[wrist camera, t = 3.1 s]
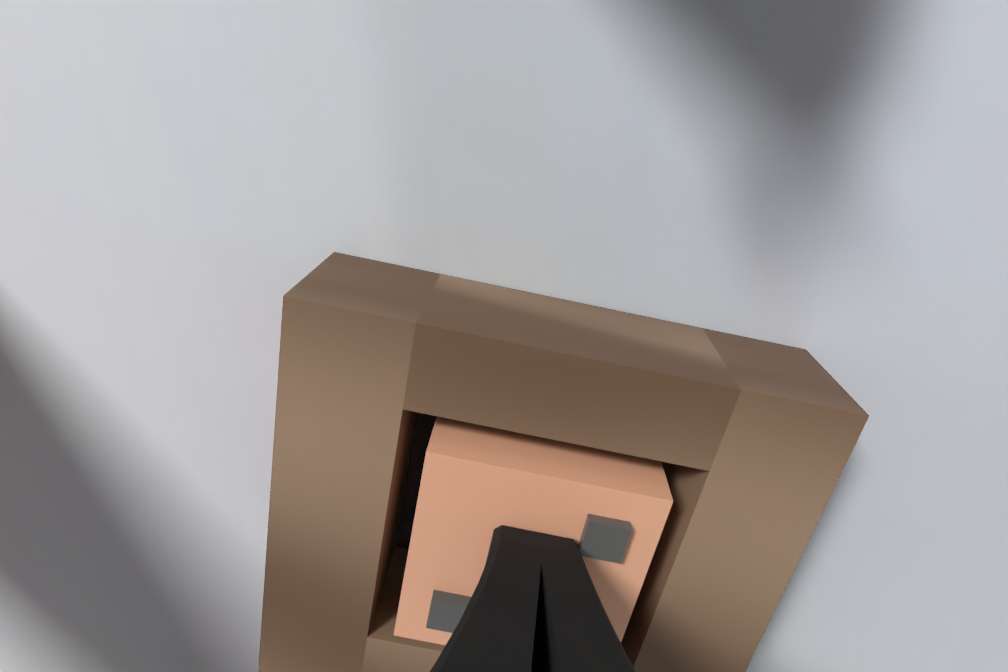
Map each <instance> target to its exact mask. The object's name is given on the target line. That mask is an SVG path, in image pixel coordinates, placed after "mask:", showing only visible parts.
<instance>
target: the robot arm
mask: <svg viewBox="0 0 1008 672" xmlns="http://www.w3.org/2000/svg"><path fill="white" fill-rule="evenodd" d="M430 672H636V671H635V669H634V668H633V666H632V664H631V662H630V660H629V658H628V656H627V654H626V652H625V650H624V648H623V646H622V644H621V642H620V640H619V638H618V636H617V634H616V632H615V630H614V628H613V626H612V624H611V622H610V620H609V618H608V616H607V614H606V611H605V609H604V607H603V605H602V603H601V600H600V598H599V596H598V594H597V591H596V589H595V587H594V584H593V582H592V580H591V577H590V575H589V573H588V570H587V568H586V565H585V563H584V560H583V557H582V555H581V552H580V550H579V547H578V545H577V544H576V542H575V541H574V539H571V538H566V537H560V536H555V535H550V534H545V533H540V532H535V531H530V530H525V529H520V528H515V527H510V526H505V525H501V526H499V527H497V528H495V529H494V531H493V535H492V539H491V543H490V547H489V552H488V556H487V560H486V564H485V567H484V570H483V572H482V575H481V577H480V580H479V582H478V585H477V587H476V589H475V591H474V593H473V595H472V597H471V599H470V601H469V603H468V605H467V607H466V609H465V611H464V614H463V616H462V617H461V619H460V621H459V623H458V625H457V627H456V628H455V630H454V632H453V633H452V635H451V637H450V639H449V640H448V642H447V644H446V646H445V647H444V649H443V651H442V652H441V654H440V656H439V658H438V659H437V661H436V663H435V664H434V666H433V667H432V669H431V670H430Z"/></svg>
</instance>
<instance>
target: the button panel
mask: <svg viewBox="0 0 1008 672" xmlns="http://www.w3.org/2000/svg"><path fill="white" fill-rule="evenodd" d="M417 413H423V414H428V415H433V416H438V417H443V418H448V419H453V420H458V421H463V422H468V423H473V424H478V425H483V426H488V427H493V428H498V429H503V430H508V431H513V432H517V433H522V434H527V435H532V436H537V437H542V438H547V439H552V440H557V441H562V442H567V443H572V444H577V445H582V446H587V447H592V448H597V449H602V450H607V451H612V452H617V453H622V454H627V455H632V456H637V457H642V458H647V459H652V460H657V461H661V463H662V466H663V469H664V472H665V475H666V479H667V482H668V485H669V488H670V492H671V495H672V498H673V504H672V506H671V509H670V512H669V514H668V517H667V520H666V523H665V525H664V528H663V531H662V533H661V536H660V539H659V541H658V544H657V547H656V550H655V552H654V555H653V558H652V560H651V563H650V566H649V568H648V571H647V574H646V577H645V579H644V582H643V585H642V587H641V590H640V593H639V595H638V598H637V601H636V604H635V606H634V609H633V612H632V614H631V617H630V620H629V623H628V625H627V628H626V631H625V633H624V636H623V639H622V641H621V644H622V646H623V648H624V650H625V652H626V654H627V656H628V658H629V660H630V662H631V664H632V666H633V668H634V669H635V671H636V672H745V670H746V668H747V666H748V664H749V662H750V660H751V658H752V656H753V654H754V652H755V650H756V648H757V646H758V643H759V641H760V639H761V637H762V635H763V633H764V631H765V629H766V627H767V625H768V623H769V621H770V619H771V617H772V615H773V613H774V611H775V609H776V606H777V604H778V602H779V600H780V598H781V596H782V594H783V592H784V590H785V588H786V586H787V584H788V582H789V580H790V578H791V576H792V574H793V571H794V569H795V567H796V565H797V563H798V561H799V559H800V557H801V555H802V553H803V551H804V549H805V547H806V545H807V543H808V541H809V539H810V537H811V534H812V532H813V530H814V528H815V526H816V524H817V522H818V520H819V518H820V516H821V514H822V512H823V510H824V508H825V506H826V504H827V502H828V499H829V497H830V495H831V493H832V491H833V489H834V487H835V485H836V483H837V481H838V479H839V477H840V475H841V473H842V471H843V469H844V467H845V465H846V462H847V460H848V458H849V456H850V454H851V452H852V450H853V448H854V446H855V444H856V442H857V440H858V438H859V436H860V434H861V432H862V430H863V427H864V425H865V423H866V421H867V419H868V417H869V415H868V414H867V413H866V412H865V411H864V410H863V409H862V408H861V407H860V406H859V405H858V404H857V403H856V402H855V400H854V399H853V398H852V397H851V396H850V395H849V394H848V393H847V392H846V391H845V390H844V389H843V388H842V387H841V386H840V385H839V384H838V383H837V382H836V381H835V380H834V379H833V377H832V376H831V375H830V374H829V373H828V372H827V371H826V370H825V369H824V368H823V367H822V366H821V365H820V364H819V363H818V362H817V361H816V360H815V359H814V358H813V357H812V356H811V354H810V353H809V352H808V351H807V350H805V349H800V348H795V347H790V346H785V345H780V344H776V343H771V342H766V341H761V340H756V339H751V338H747V337H742V336H737V335H732V334H727V333H722V332H718V331H713V330H708V329H703V328H698V327H693V326H689V325H684V324H679V323H674V322H669V321H664V320H660V319H655V318H650V317H645V316H640V315H635V314H631V313H626V312H621V311H616V310H611V309H606V308H602V307H597V306H592V305H587V304H582V303H578V302H573V301H568V300H563V299H558V298H553V297H549V296H544V295H539V294H534V293H529V292H524V291H520V290H515V289H510V288H505V287H500V286H495V285H491V284H486V283H481V282H476V281H471V280H466V279H462V278H457V277H452V276H447V275H442V274H437V273H433V272H428V271H423V270H418V269H413V268H408V267H404V266H399V265H394V264H389V263H384V262H379V261H375V260H370V259H365V258H360V257H355V256H350V255H346V254H341V253H336V252H334V253H333V254H331V255H330V256H329V257H328V258H327V259H326V260H325V261H323V262H322V263H321V264H320V265H319V266H318V267H316V268H315V269H314V270H313V271H312V272H311V273H309V274H308V275H307V276H306V277H305V278H304V279H302V280H301V281H300V282H299V283H298V284H297V285H295V286H294V287H293V288H292V289H291V290H290V291H289V292H287V293H286V294H285V295H284V296H283V310H282V325H281V340H280V355H279V370H278V386H277V401H276V416H275V431H274V446H273V461H272V476H271V491H270V506H269V521H268V536H267V551H266V566H265V581H264V596H263V611H262V626H261V641H260V656H259V671H258V672H430V670H431V669H432V667H433V666H434V664H435V663H436V661H437V659H438V658H439V656H440V654H441V652H442V651H443V649H444V647H445V646H446V645H441V644H436V643H431V642H425V641H420V640H415V639H410V638H405V637H399V636H394V629H395V623H396V618H397V612H398V607H399V601H400V595H401V590H402V584H403V578H404V573H405V567H406V561H407V556H408V550H409V549H407V548H402V547H397V546H395V545H396V539H397V533H398V527H399V521H400V515H401V509H402V503H403V497H404V491H405V485H406V479H407V473H408V467H409V461H410V455H411V449H412V443H413V437H414V431H415V425H416V419H417Z"/></svg>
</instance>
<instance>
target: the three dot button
mask: <svg viewBox="0 0 1008 672" xmlns="http://www.w3.org/2000/svg"><path fill="white" fill-rule="evenodd" d="M672 504H673V498H672V495H671V492H670V488H669V485H668V482H667V479H666V475H665V472H664V469H663V466H662V463H661V461H657V460H652V459H647V458H642V457H637V456H632V455H627V454H622V453H617V452H612V451H607V450H602V449H597V448H592V447H587V446H582V445H577V444H572V443H567V442H562V441H557V440H552V439H547V438H542V437H537V436H532V435H527V434H522V433H517V432H513V431H508V430H503V429H498V428H493V427H488V426H483V425H478V424H473V423H468V422H463V421H458V420H453V419H448V418H443V417H438V416H437V417H436V421H435V424H434V427H433V430H432V434H431V437H430V440H429V443H428V447H427V450H426V454H425V460H424V466H423V471H422V477H421V483H420V488H419V494H418V499H417V505H416V511H415V516H414V522H413V528H412V533H411V539H410V545H409V550H408V556H407V561H406V567H405V573H404V578H403V584H402V590H401V595H400V601H399V607H398V612H397V618H396V623H395V629H394V636H399V637H405V638H410V639H415V640H420V641H425V642H431V643H436V644H441V645H446V644H447V642H448V640H449V639H450V637H451V635H452V633H453V632H454V630H455V628H456V627H457V625H458V623H459V621H460V619H461V617H462V616H463V614H464V611H465V609H466V607H467V605H468V603H469V601H470V599H471V597H472V595H473V593H474V591H475V589H476V587H477V585H478V582H479V580H480V577H481V575H482V572H483V570H484V567H485V564H486V560H487V556H488V552H489V547H490V543H491V539H492V535H493V531H494V529H495V528H497V527H499V526H501V525H505V526H510V527H515V528H520V529H525V530H530V531H535V532H540V533H545V534H550V535H555V536H560V537H566V538H571V539H574V541H575V542H576V544H577V545H578V547H579V550H580V552H581V555H582V557H583V560H584V563H585V565H586V568H587V570H588V573H589V575H590V577H591V580H592V582H593V584H594V587H595V589H596V591H597V594H598V596H599V598H600V600H601V603H602V605H603V607H604V609H605V611H606V614H607V616H608V618H609V620H610V622H611V624H612V626H613V628H614V630H615V632H616V634H617V636H618V638H619V640H620V642H621V641H622V639H623V636H624V633H625V631H626V628H627V625H628V623H629V620H630V617H631V614H632V612H633V609H634V606H635V604H636V601H637V598H638V595H639V593H640V590H641V587H642V585H643V582H644V579H645V577H646V574H647V571H648V568H649V566H650V563H651V560H652V558H653V555H654V552H655V550H656V547H657V544H658V541H659V539H660V536H661V533H662V531H663V528H664V525H665V523H666V520H667V517H668V514H669V512H670V509H671V506H672Z"/></svg>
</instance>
